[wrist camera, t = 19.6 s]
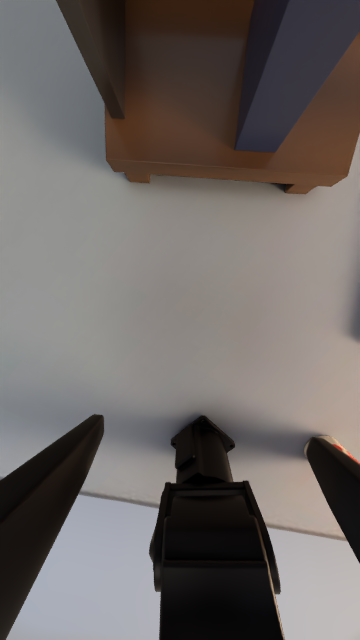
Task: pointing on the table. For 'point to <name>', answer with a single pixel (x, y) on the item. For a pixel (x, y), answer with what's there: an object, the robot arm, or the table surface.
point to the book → (289, 64)
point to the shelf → (203, 94)
